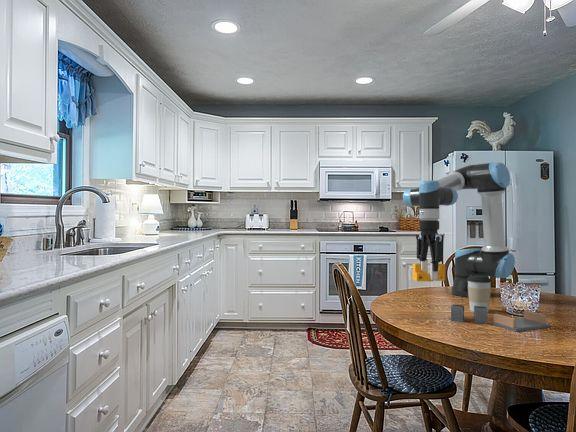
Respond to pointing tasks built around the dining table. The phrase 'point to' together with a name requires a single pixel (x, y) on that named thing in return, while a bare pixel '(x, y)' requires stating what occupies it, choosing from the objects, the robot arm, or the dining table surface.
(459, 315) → the block
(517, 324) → the end holder
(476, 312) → the block
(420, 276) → the pipe clamp
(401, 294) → the dining table surface
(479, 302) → the coffee cup
